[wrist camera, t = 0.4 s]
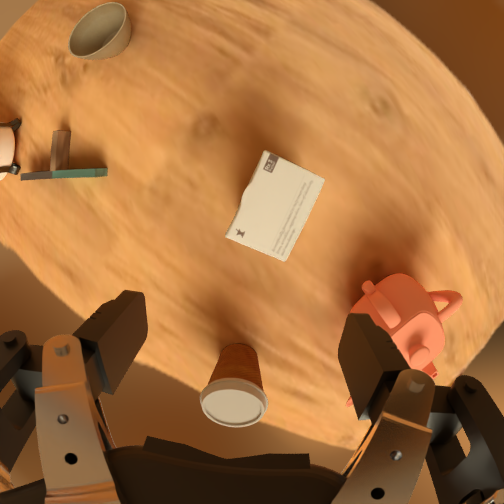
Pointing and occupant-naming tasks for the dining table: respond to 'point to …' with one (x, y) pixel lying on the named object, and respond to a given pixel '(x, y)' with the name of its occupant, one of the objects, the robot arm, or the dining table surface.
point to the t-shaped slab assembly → (62, 162)
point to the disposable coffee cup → (235, 389)
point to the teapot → (409, 317)
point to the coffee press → (8, 148)
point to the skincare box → (275, 206)
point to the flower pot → (101, 32)
